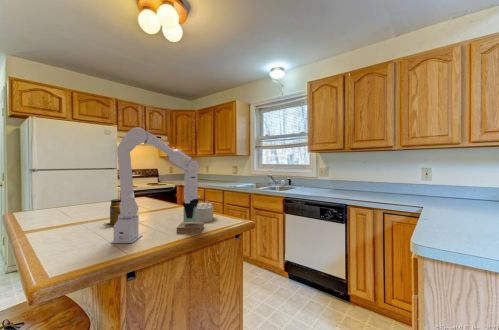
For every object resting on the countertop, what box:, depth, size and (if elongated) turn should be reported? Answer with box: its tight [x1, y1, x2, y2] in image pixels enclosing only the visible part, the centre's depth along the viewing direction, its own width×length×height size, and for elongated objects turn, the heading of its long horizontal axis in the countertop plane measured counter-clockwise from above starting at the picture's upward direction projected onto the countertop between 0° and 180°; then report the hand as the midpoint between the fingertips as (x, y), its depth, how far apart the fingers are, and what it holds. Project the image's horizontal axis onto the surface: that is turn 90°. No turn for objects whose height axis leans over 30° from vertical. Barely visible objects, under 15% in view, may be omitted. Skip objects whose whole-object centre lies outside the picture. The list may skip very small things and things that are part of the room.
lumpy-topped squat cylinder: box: [196, 202, 214, 223], centre depth 127 cm, size 10×13×9 cm
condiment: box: [103, 198, 121, 228], centre depth 116 cm, size 7×8×12 cm
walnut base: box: [176, 221, 205, 235], centre depth 107 cm, size 10×10×3 cm
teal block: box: [183, 206, 197, 222], centre depth 107 cm, size 5×5×6 cm
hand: (190, 216), depth 107 cm, fingers closed on teal block, 5 cm apart
